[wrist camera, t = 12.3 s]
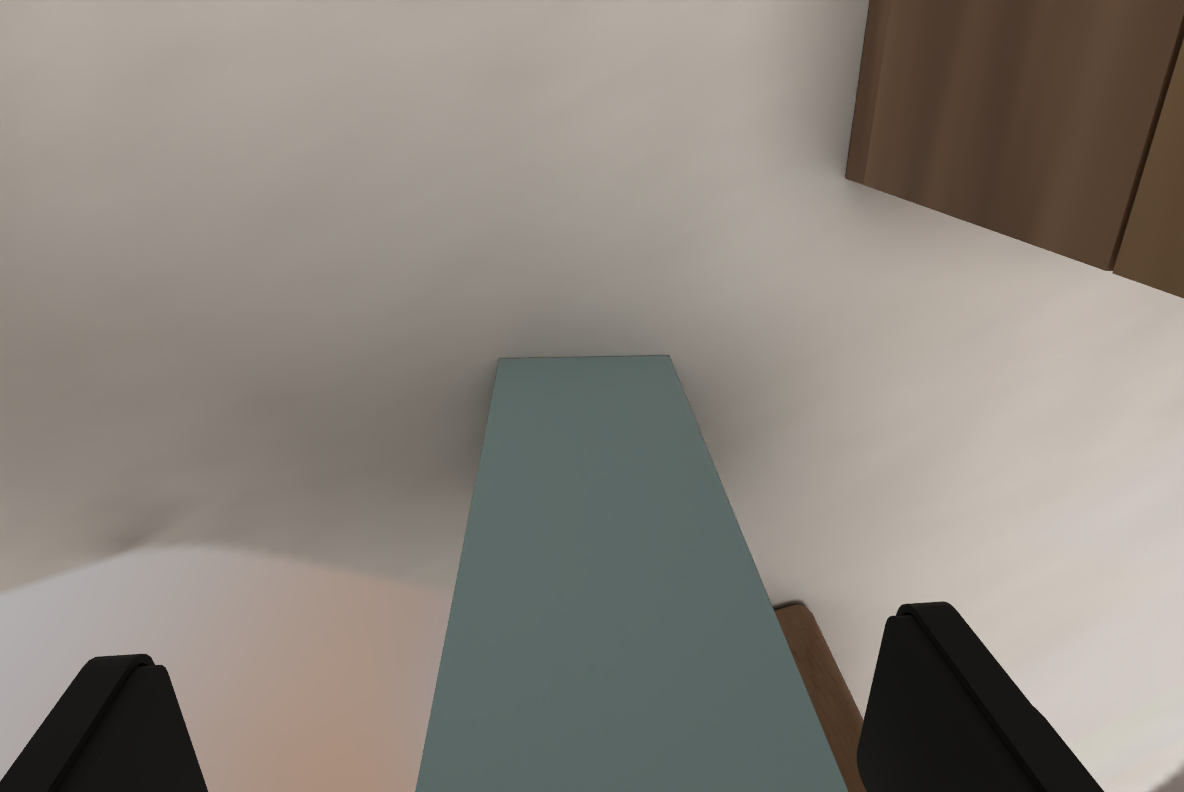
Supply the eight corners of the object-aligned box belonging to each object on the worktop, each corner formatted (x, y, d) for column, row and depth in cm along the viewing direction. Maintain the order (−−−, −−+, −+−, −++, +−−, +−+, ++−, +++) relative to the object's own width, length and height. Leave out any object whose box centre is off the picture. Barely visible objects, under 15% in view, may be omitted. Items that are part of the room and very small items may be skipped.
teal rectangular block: (498, 358, 17) (396, 890, 6) (668, 355, 17) (878, 866, 6) (507, 503, 18) (439, 1131, 7) (662, 499, 19) (817, 1107, 8)
